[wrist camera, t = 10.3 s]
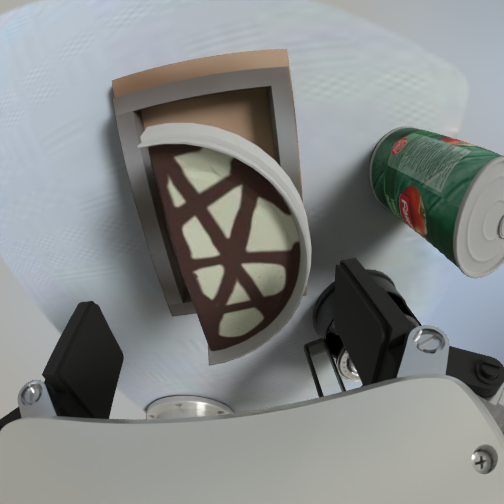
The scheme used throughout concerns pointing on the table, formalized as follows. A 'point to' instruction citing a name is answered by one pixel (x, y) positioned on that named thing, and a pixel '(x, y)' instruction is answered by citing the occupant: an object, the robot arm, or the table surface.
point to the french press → (332, 340)
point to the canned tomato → (444, 194)
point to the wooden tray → (206, 113)
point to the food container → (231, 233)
